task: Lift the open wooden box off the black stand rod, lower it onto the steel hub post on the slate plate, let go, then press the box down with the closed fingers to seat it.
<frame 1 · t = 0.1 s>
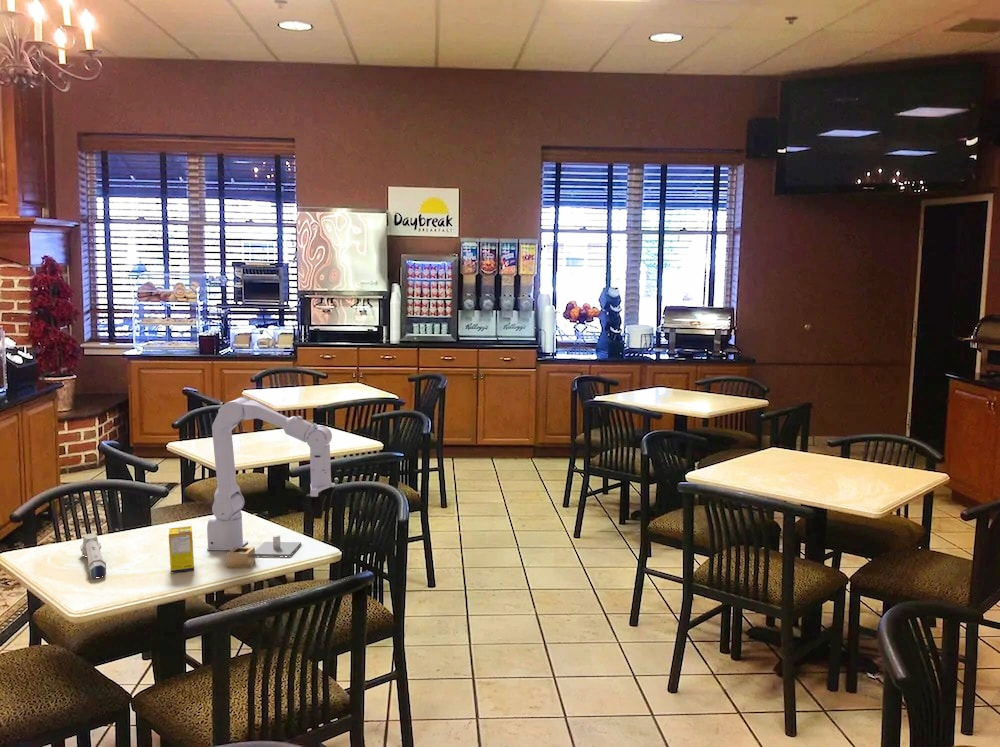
hand: (321, 514, 243), 10 cm above the table, tool pointing down, fingers open, 7 cm apart
supplement box: (182, 569, 228), on the table
hub plate: (277, 550, 242), on the table
open wooden box: (241, 564, 231), on the table
stand rod: (241, 564, 231), on the table
white flashlight: (94, 566, 231), on the table
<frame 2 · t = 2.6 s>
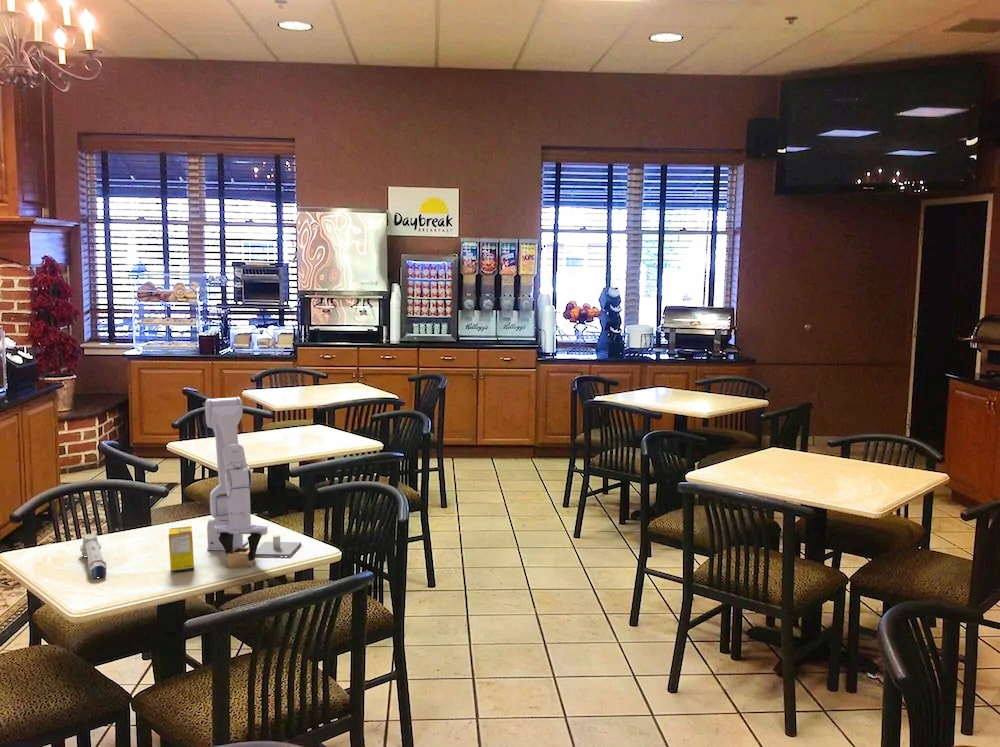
hand: (241, 559, 231), 1 cm above the table, tool pointing down, fingers closed on open wooden box, 6 cm apart
open wooden box: (241, 564, 231), on the table, touching gripper
everything else where it was.
when the fingers open (4 cm above the table, at t = 7.0 s): open wooden box drops 1 cm, resting on hub plate.
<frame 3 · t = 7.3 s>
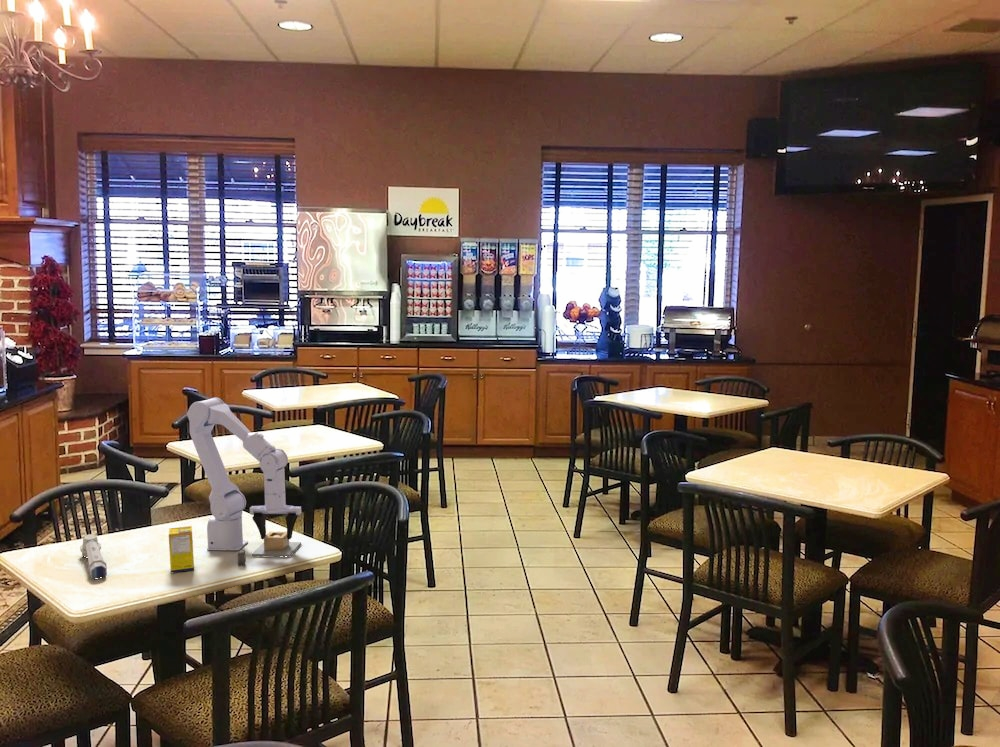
hand: (276, 538, 242), 4 cm above the table, tool pointing down, fingers open, 7 cm apart
open wooden box: (276, 548, 242), point 1 cm above the table, touching hub plate
everything else where it was.
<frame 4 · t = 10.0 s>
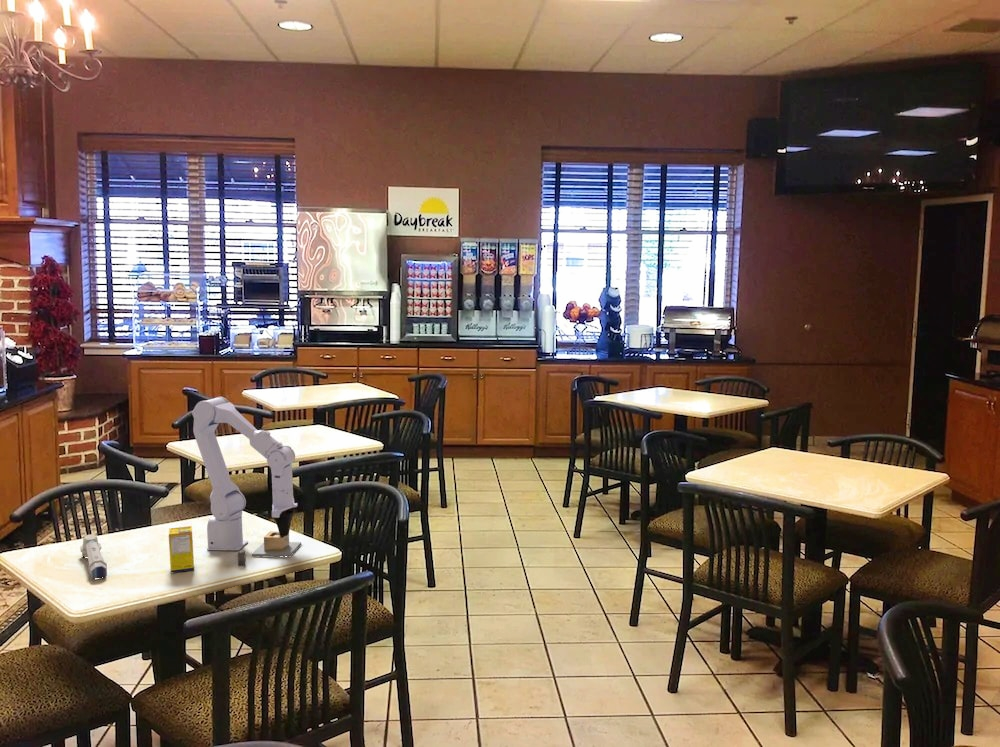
hand: (284, 535, 242), 5 cm above the table, tool pointing down, fingers closed, pressing on open wooden box
open wooden box: (276, 547, 242), point 1 cm above the table, touching gripper, hub plate
everything else where it was.
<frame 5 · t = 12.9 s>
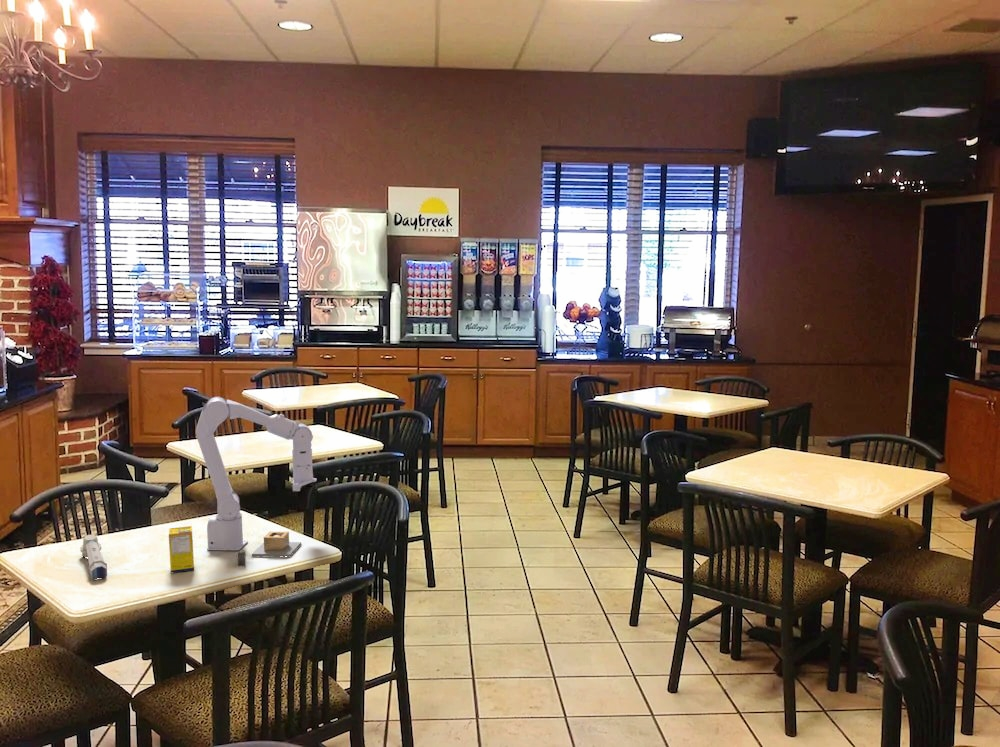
hand: (303, 508, 252), 9 cm above the table, tool pointing down, fingers closed
open wooden box: (276, 548, 242), point 1 cm above the table, touching hub plate
at the end: open wooden box 0.1 cm off-centre on the hub plate, point 0.8 cm above the hub plate's base; open wooden box tilted 0°; the gripper is holding nothing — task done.
